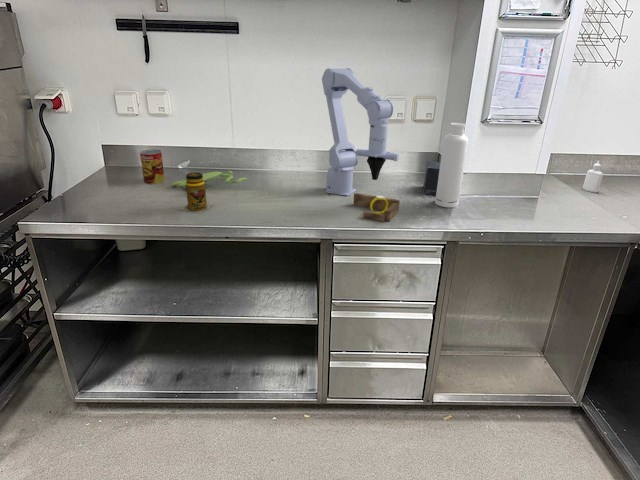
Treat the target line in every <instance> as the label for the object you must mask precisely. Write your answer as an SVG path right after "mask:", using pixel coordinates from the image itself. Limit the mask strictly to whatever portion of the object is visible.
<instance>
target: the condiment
mask: <svg viewBox="0 0 640 480" xmlns="http://www.w3.org/2000/svg"><path fill="white" fill-rule="evenodd" d="M202 174H203V173H201V172H197V171H195V172H189V173H187V174H186V175H185V178H186V179H185V180H186V181H187V182H186V186H185V188H186V189H185V192H186V191H187V193H186V197H187V198H186V199H187V204H186V205H185V206H183V207H181V208H179V209H178V210H179V211H185V212H190V213H196V214H201V213H203V212H205V211H207V210H208V209H209V208H211V207H212V205H209V204H207V195H206V182H204V181H203V175H202Z"/></svg>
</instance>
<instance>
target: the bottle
mask: <svg viewBox="0 0 640 480" xmlns="http://www.w3.org/2000/svg"><path fill="white" fill-rule="evenodd" d="M466 124H467V123H462V122H450V131H449V133H448V134H446V135H445V136H444V138H443V141H442V147H441V148H442V149H441V156H440V157H441V158H440V162H441V163H440V170H439V177H438V185H437V192H436V195H435V200H434V203H435V204H436V205H437V206H440V207H443V208H456V207H458V206H459V202H460V201H459V200H460V197H461V195H460V194H461V189H462V183H463V177H464V170H465V164H466V157H467V151H468V145H469V138H468V137H467V135H466V134H465V127H466Z"/></svg>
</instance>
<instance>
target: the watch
mask: <svg viewBox="0 0 640 480" xmlns="http://www.w3.org/2000/svg"><path fill="white" fill-rule="evenodd" d="M375 196H376V198H374V199H373V200H372V202H371V203H370V212H372V213H377V214H383V215H385V214H386V210H387V209H388V202H387V200H386V199H385V198H386V197H385V196H384V195H378V194H377V195H375ZM376 200H385V201H386V207H385V209H384V210H380V211H374V208H372V206H373V203H374V202H375V201H376Z"/></svg>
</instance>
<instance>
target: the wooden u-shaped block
mask: <svg viewBox="0 0 640 480" xmlns="http://www.w3.org/2000/svg"><path fill="white" fill-rule="evenodd" d="M376 196H377V195H371V194H366V193H365V194H364V193H360V192H359V193H358V192H355V193H353V203H352V204H353V206H358V207H361V208H363V207H364V208H370V203H371V202H372V200H373V199H374V198H376ZM384 198H385V199H386V200H387V202H388V209H387V210H386V212H385V213H384V214H377V213H373V212H372V211H364V212H363V216H362V217H363V219H367V220H372V221H377V222H391V220H392V219H394V218H395V216H396V215H397V214H398V213H399V212H400V202H401V201H400V199H394V198H390V197H389V198H388V197H384ZM385 207H386V201H385V200H376V201H375V202H374V203H373V206H372V209H373V210H374V209H375V210H380V211H383V210H384V209H385ZM370 209H371V208H370Z"/></svg>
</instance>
